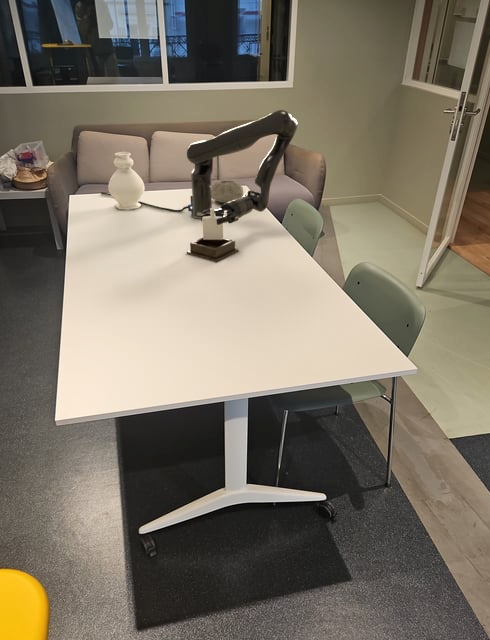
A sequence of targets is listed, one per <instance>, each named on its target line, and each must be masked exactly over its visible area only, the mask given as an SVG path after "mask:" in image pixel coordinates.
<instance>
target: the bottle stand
mask: <svg viewBox="0 0 490 640" xmlns="http://www.w3.org/2000/svg"><path fill="white" fill-rule="evenodd" d="M189 246H190V247H189V248H190V249H189V250H186V255H189V256H193V257H196V258H200V259H202V260H203V259H204V260H208V261H210V262H214V263H218V262H220V261H222V260H224V259H226V258H228V257H230V256H232V255H234V254H236V253H238V252H239V248H236V240H234V239H229V238H226V237H223V240H203V237H201V238H198V239H196V240H193V241H192V242H190V243H189Z"/></svg>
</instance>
